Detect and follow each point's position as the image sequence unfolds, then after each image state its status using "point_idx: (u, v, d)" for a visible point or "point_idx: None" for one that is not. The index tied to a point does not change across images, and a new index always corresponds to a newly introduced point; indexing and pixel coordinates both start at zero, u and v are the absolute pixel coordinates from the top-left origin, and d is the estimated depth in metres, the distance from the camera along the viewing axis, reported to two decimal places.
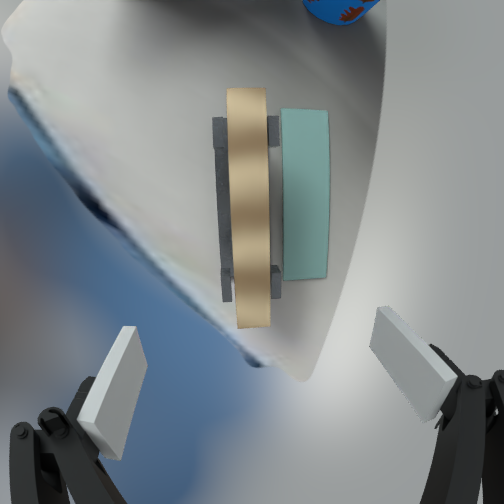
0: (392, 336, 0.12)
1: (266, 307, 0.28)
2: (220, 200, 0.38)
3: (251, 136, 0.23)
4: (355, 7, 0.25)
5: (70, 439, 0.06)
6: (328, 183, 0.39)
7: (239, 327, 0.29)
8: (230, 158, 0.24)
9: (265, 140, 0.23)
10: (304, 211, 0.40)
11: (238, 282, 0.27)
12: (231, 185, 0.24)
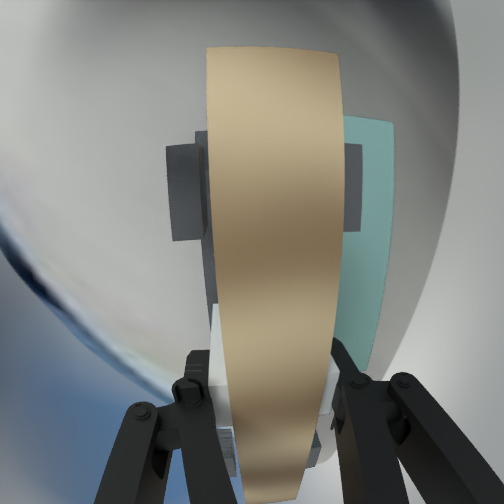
0: None
1: (292, 490, 0.12)
2: (211, 282, 0.22)
3: (294, 221, 0.07)
4: None
5: (201, 410, 0.08)
6: (388, 245, 0.23)
7: None
8: (223, 295, 0.08)
9: (337, 234, 0.07)
10: (348, 290, 0.24)
11: (247, 479, 0.11)
12: (229, 363, 0.08)
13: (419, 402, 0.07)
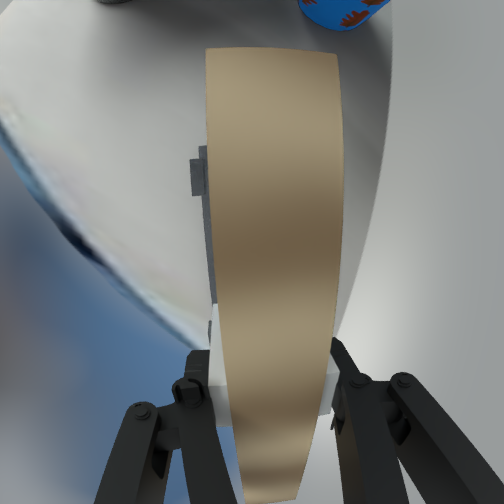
0: None
1: (292, 490, 0.12)
2: (209, 237, 0.35)
3: (293, 221, 0.07)
4: (359, 11, 0.21)
5: (202, 410, 0.08)
6: None
7: None
8: (222, 295, 0.08)
9: (336, 234, 0.07)
10: None
11: (247, 479, 0.11)
12: (228, 363, 0.08)
13: (419, 402, 0.07)
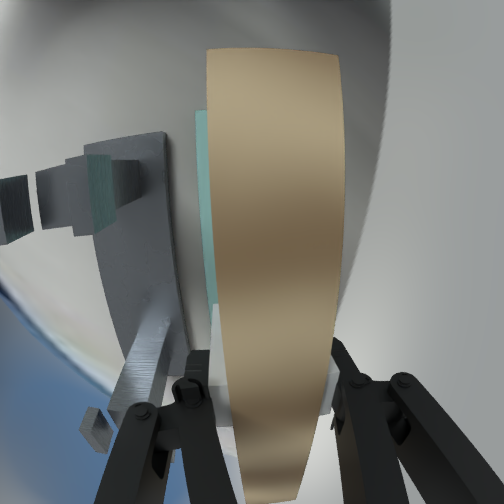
0: None
1: (292, 490, 0.12)
2: (105, 277, 0.22)
3: (294, 223, 0.07)
4: None
5: (202, 410, 0.08)
6: None
7: None
8: (223, 297, 0.08)
9: (337, 236, 0.07)
10: None
11: (247, 480, 0.11)
12: (229, 364, 0.08)
13: (419, 402, 0.07)
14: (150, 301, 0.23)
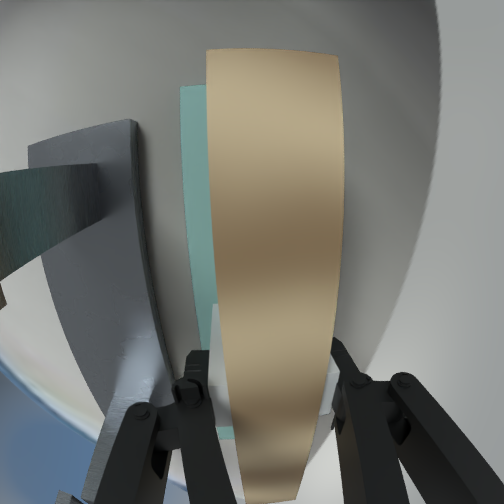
0: None
1: (292, 490, 0.12)
2: (67, 326, 0.15)
3: (294, 223, 0.07)
4: None
5: (201, 410, 0.08)
6: None
7: None
8: (223, 297, 0.08)
9: (336, 236, 0.07)
10: None
11: (247, 479, 0.11)
12: (229, 364, 0.08)
13: (419, 402, 0.07)
14: (125, 358, 0.16)
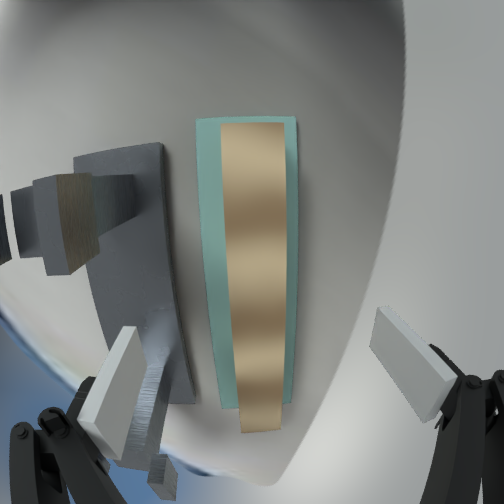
0: (392, 336, 0.12)
1: (276, 414, 0.20)
2: (99, 302, 0.20)
3: (261, 206, 0.15)
4: None
5: (70, 439, 0.06)
6: (295, 266, 0.21)
7: (243, 432, 0.21)
8: (228, 242, 0.16)
9: (283, 212, 0.15)
10: None
11: (241, 394, 0.19)
12: (230, 282, 0.16)
13: None
14: (147, 328, 0.21)
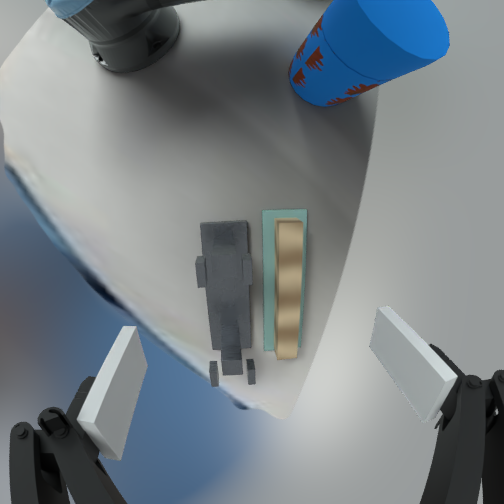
0: (392, 335, 0.12)
1: (295, 347, 0.45)
2: (209, 294, 0.45)
3: (293, 254, 0.40)
4: (342, 98, 0.31)
5: (70, 439, 0.06)
6: (304, 275, 0.46)
7: (278, 359, 0.46)
8: (280, 268, 0.41)
9: (301, 256, 0.40)
10: None
11: (279, 335, 0.44)
12: (279, 283, 0.41)
13: None
14: (233, 305, 0.46)
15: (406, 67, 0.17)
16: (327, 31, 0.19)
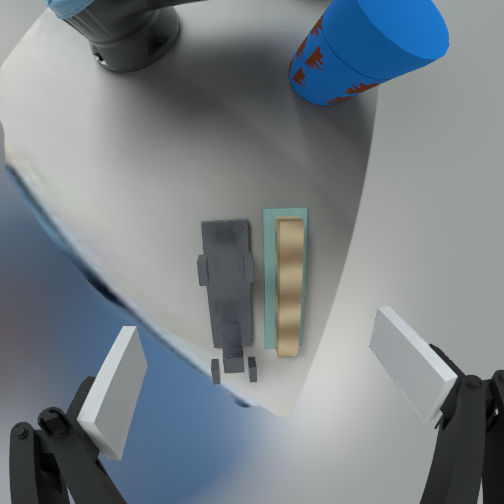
0: (392, 336, 0.12)
1: (296, 345, 0.46)
2: (210, 292, 0.45)
3: (294, 252, 0.40)
4: (342, 97, 0.32)
5: (70, 439, 0.06)
6: (304, 273, 0.46)
7: (279, 356, 0.46)
8: (280, 266, 0.41)
9: (302, 255, 0.41)
10: None
11: (281, 333, 0.45)
12: (280, 281, 0.42)
13: None
14: (235, 304, 0.46)
15: (406, 67, 0.17)
16: (327, 31, 0.19)
